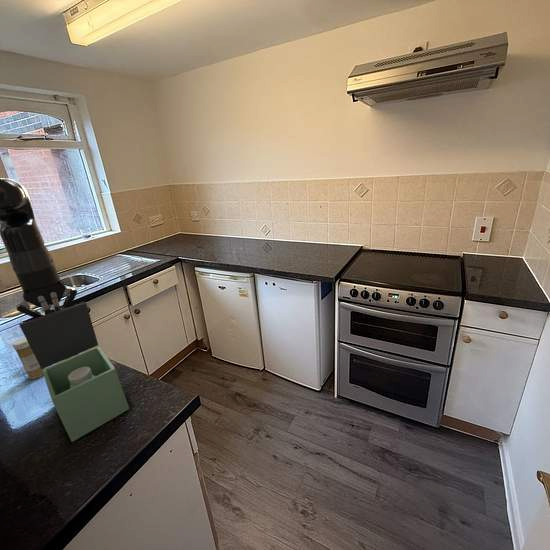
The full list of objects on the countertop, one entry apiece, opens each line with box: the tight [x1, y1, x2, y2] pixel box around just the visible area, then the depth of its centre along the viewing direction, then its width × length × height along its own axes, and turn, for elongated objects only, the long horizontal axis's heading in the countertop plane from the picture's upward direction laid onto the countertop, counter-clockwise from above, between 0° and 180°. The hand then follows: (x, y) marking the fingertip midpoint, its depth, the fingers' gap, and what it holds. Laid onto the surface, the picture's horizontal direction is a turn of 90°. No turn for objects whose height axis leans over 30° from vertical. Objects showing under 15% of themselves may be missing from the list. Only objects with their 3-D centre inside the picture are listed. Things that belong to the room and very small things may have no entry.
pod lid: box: [18, 301, 99, 369], centre depth 77 cm, size 16×14×1 cm
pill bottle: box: [68, 367, 95, 388], centre depth 79 cm, size 6×6×11 cm
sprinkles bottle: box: [12, 336, 44, 380], centre depth 95 cm, size 5×5×13 cm
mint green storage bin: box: [42, 345, 130, 443], centre depth 79 cm, size 16×14×13 cm
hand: (60, 329), depth 77 cm, fingers closed
